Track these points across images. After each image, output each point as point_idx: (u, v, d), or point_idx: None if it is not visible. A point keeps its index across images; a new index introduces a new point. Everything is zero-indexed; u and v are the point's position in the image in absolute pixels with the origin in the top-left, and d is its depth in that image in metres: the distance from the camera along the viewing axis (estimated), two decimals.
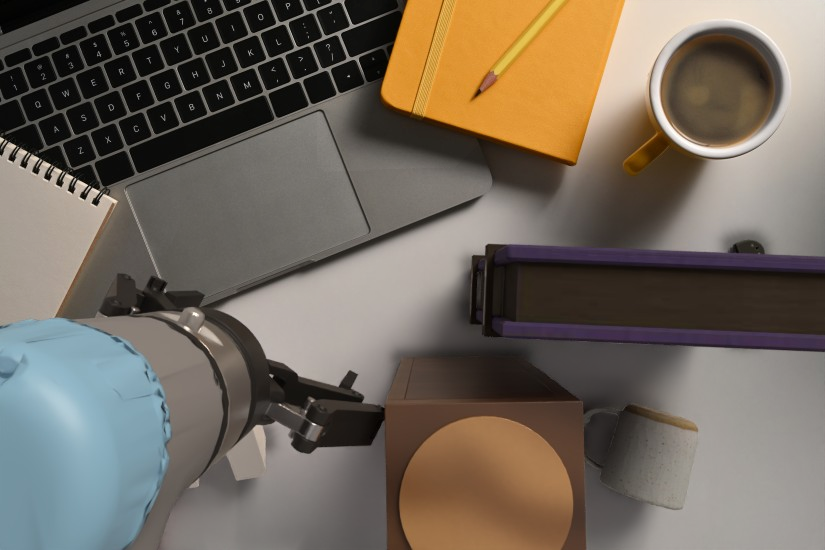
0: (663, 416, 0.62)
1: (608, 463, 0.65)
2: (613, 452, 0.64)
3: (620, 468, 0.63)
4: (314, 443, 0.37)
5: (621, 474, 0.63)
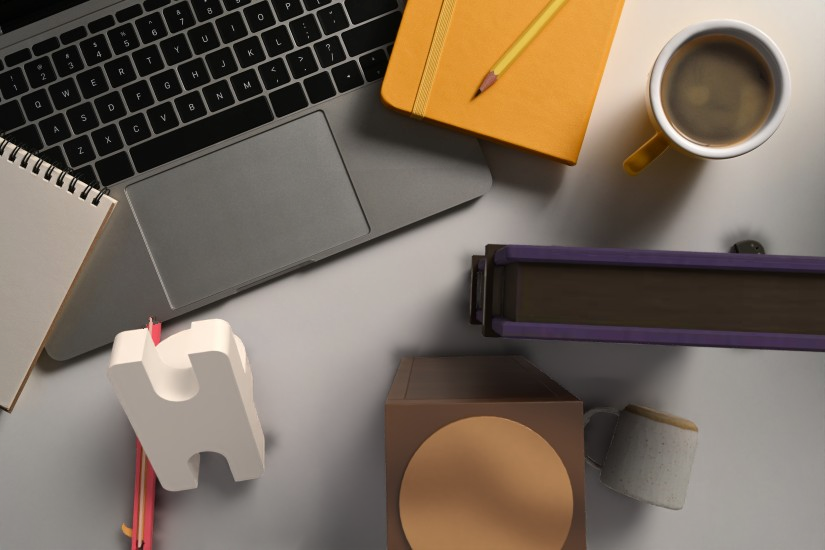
0: (663, 416, 0.62)
1: (608, 463, 0.65)
2: (613, 452, 0.64)
3: (620, 468, 0.63)
4: None
5: (621, 474, 0.63)
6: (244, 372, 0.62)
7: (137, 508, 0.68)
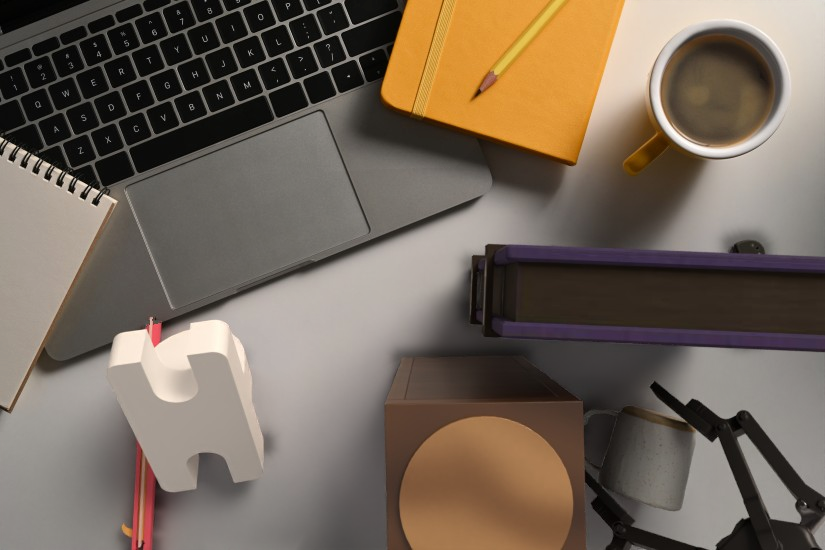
0: (660, 417, 0.62)
1: (606, 465, 0.65)
2: (611, 454, 0.64)
3: (618, 470, 0.63)
4: None
5: (619, 476, 0.63)
6: (243, 373, 0.62)
7: (137, 508, 0.68)
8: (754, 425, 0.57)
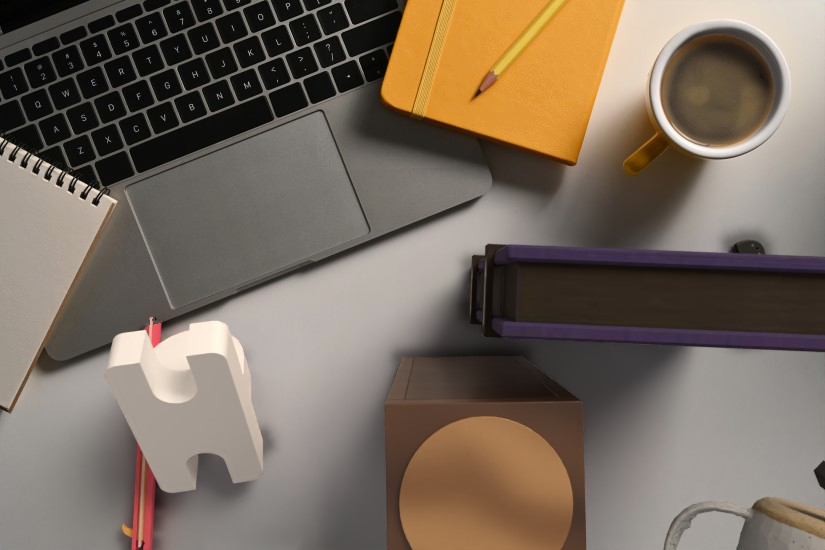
0: None
1: None
2: None
3: None
4: None
5: None
6: (242, 374, 0.62)
7: (137, 508, 0.68)
8: None
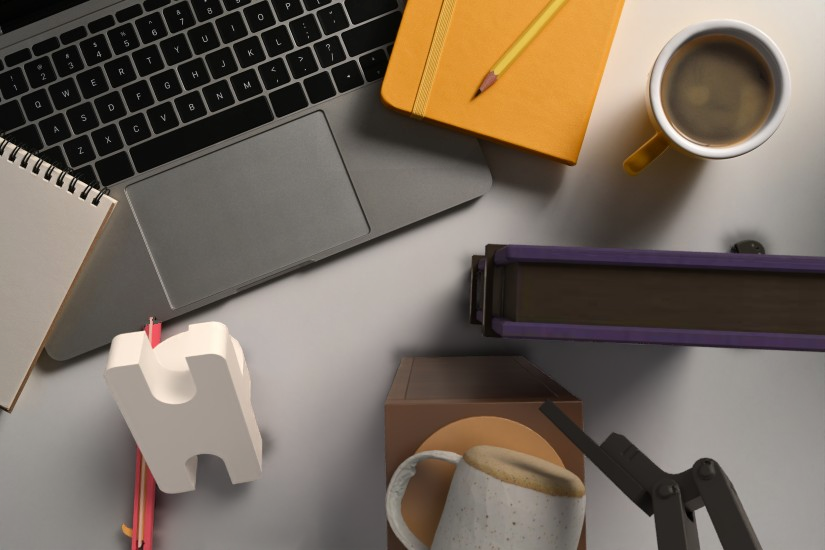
0: (517, 472, 0.35)
1: None
2: (439, 533, 0.37)
3: None
4: None
5: None
6: (241, 375, 0.62)
7: (137, 508, 0.68)
8: (723, 494, 0.28)
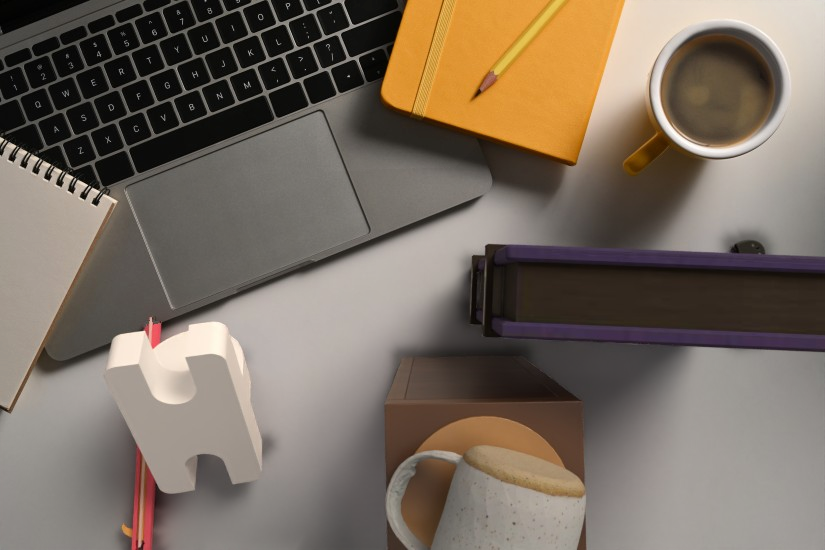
0: (517, 472, 0.35)
1: None
2: (439, 533, 0.37)
3: None
4: None
5: None
6: (241, 375, 0.62)
7: (137, 508, 0.68)
8: None
